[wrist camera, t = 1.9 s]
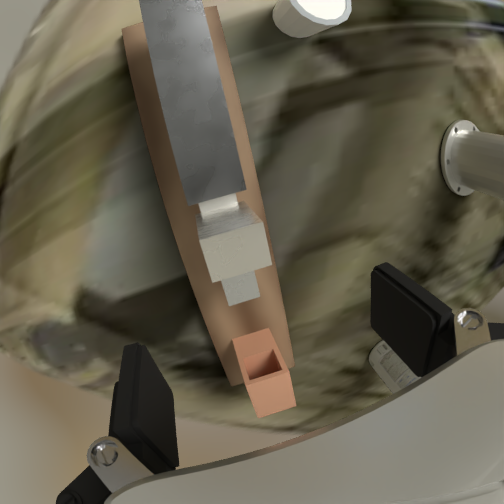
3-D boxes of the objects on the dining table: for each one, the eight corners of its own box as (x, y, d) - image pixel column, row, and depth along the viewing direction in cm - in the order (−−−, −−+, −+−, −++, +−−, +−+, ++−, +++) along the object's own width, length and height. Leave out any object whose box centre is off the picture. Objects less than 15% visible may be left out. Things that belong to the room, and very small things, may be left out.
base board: (214, 10, 24) (216, 5, 22) (291, 359, 44) (295, 366, 42) (124, 33, 23) (121, 28, 21) (229, 379, 42) (231, 386, 41)
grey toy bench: (192, 17, 22) (197, -19, 15) (230, 175, 30) (246, 189, 22) (148, 28, 22) (138, -5, 14) (186, 187, 29) (188, 206, 22)
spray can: (362, 367, 49) (420, 446, 31) (375, 337, 46) (443, 417, 28) (388, 361, 50) (446, 432, 32) (401, 333, 48) (468, 404, 30)
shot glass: (255, 5, 24) (273, -22, 18) (303, -11, 24) (329, -34, 18) (286, 50, 27) (311, 33, 21) (332, 33, 27) (363, 16, 21)
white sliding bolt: (193, 9, 19) (200, -42, 11) (257, 280, 30) (286, 333, 22) (148, 19, 18) (135, -28, 10) (219, 291, 29) (235, 350, 21)
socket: (268, 327, 38) (289, 371, 31) (277, 363, 41) (296, 405, 33) (232, 339, 38) (245, 385, 30) (244, 373, 40) (258, 418, 33)
